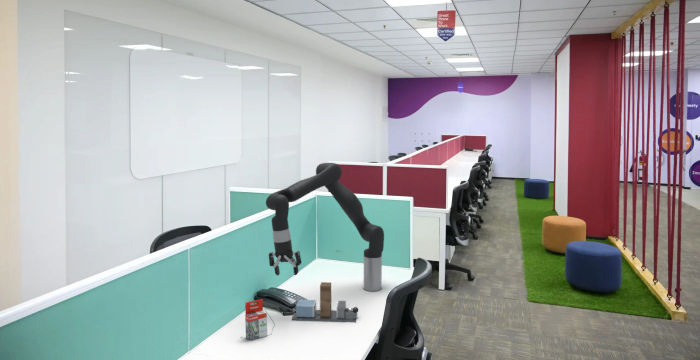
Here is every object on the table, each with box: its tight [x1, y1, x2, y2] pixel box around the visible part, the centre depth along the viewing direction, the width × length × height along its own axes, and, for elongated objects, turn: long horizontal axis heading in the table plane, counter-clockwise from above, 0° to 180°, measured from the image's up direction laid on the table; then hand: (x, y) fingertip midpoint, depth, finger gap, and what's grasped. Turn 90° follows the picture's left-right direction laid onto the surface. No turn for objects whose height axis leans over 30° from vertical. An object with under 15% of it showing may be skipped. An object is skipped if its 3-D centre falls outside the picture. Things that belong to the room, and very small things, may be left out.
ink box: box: [244, 298, 268, 341], centre depth 200 cm, size 4×8×15 cm, turn 124°
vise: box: [291, 300, 359, 323], centre depth 221 cm, size 10×29×6 cm, turn 86°
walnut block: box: [319, 281, 332, 317], centre depth 220 cm, size 4×4×14 cm
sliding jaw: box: [295, 299, 317, 317], centre depth 221 cm, size 8×8×5 cm
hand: (287, 274), depth 220 cm, fingers open, 8 cm apart
